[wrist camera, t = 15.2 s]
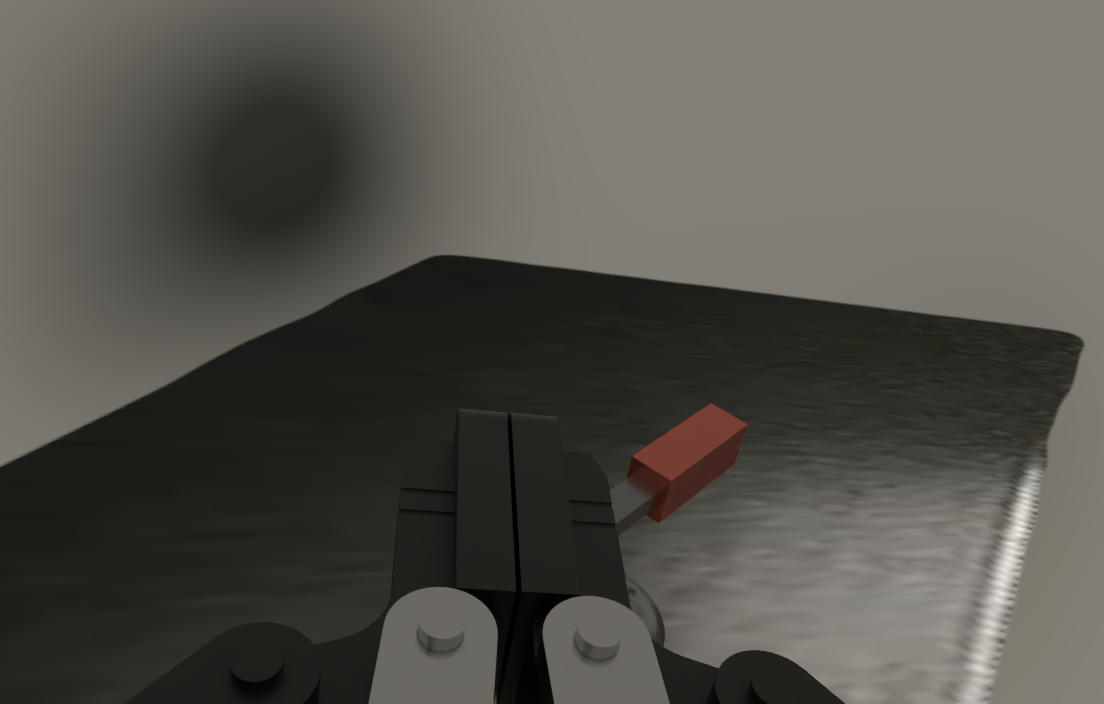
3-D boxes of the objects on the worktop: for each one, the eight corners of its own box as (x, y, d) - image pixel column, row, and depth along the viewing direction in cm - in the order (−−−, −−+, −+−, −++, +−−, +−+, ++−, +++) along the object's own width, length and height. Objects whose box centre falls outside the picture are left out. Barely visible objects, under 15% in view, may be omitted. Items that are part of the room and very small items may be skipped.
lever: (513, 642, 44) (522, 595, 43) (466, 604, 46) (474, 558, 44) (737, 465, 58) (750, 426, 57) (696, 441, 60) (708, 401, 58)
